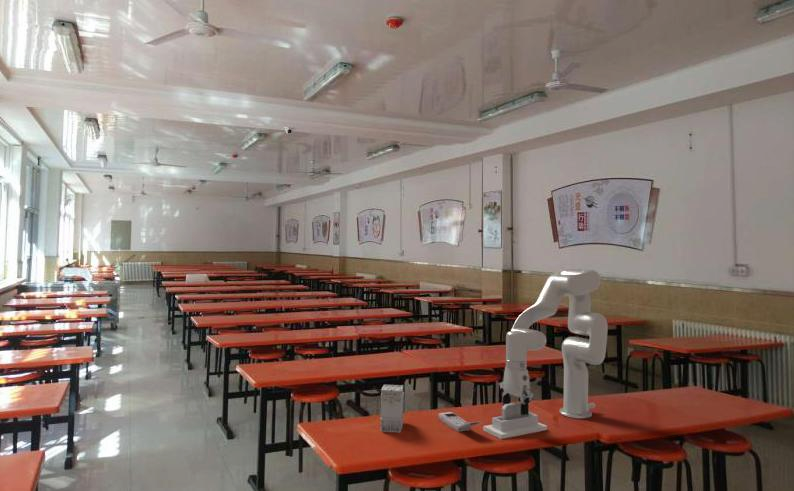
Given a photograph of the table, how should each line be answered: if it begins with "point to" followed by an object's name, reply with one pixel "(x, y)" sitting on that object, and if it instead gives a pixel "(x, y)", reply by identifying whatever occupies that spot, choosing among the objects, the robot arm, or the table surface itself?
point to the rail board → (514, 426)
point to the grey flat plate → (512, 411)
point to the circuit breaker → (392, 408)
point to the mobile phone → (456, 421)
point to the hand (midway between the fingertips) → (515, 410)
